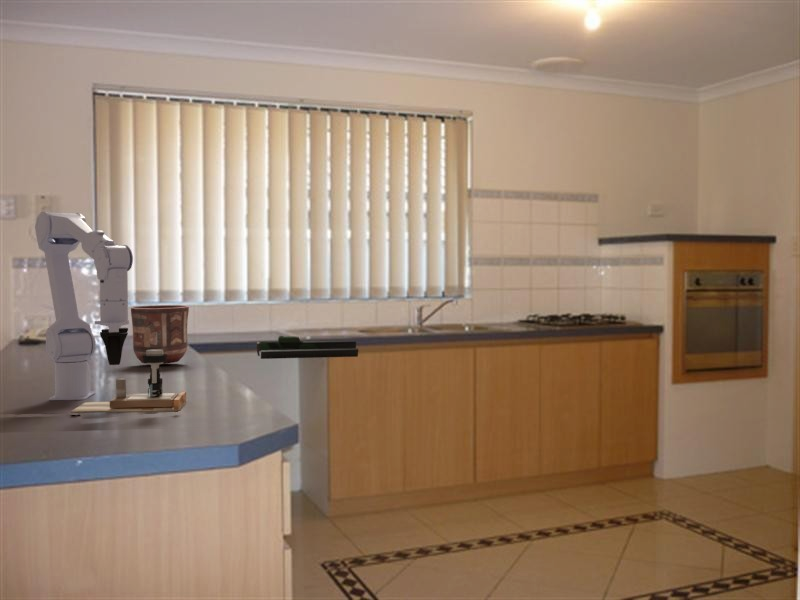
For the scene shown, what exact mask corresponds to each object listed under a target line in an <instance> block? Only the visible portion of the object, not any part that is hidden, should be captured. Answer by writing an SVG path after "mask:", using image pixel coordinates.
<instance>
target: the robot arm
mask: <svg viewBox="0 0 800 600" xmlns="http://www.w3.org/2000/svg"><path fill="white" fill-rule="evenodd" d="M34 229H35V234H36V236H35V237H36V242H37V245H38V249H39V250H41V251H42V252H43V253H44V258H45V263H46V270H47V275H48V280H49V281H48V282H49V287H50V295H51V299H52V305H53V310H54V316H55V321H54V322H53V323H52V324H51V325H50V326H49V327H48V328H47V329H46V331H45V352H46V354H47V357H48V358H49V359H50V360H51V361H52V362H54V392H55V393H54V395H53V396H51V397H50V398H49V399H48V400H49V401H79V400H80V401H81V400H83V401H84V400H87V399H88V398H90V397H92V396H93V395H94V394H96V391H92V379H91V378H92V377H91V370H92V369H91V367H90V366H91V365H90V364H89V363H88V360H91V357H92V356H93V355H94V354H95V351H96V348H97V344H96V343H97V342H96V338H95V336H94V334H93V332H92V328H91V325H90V323H88V322H86V321H85V320H83V319H82V318H80V317H79V311H78V306H77V300H76V294H75V293H76V292H75V288H74V283H73V275H72V273H71V271H72V270H71V266H70V261H69V260H70V259H69V254H70V253H71V252H72V251H73V252H74V251H75V250H76V249H77V248H78V246H79V245H80V243H81V249H82V250H83V252H84V253H85V254H86V255H87V256H89V258H91V259H92V260H93V262H94V263H93V264H94V267H95V270H96V277H97V280H99V313H100V314H99V316H100V319H99V320H94V325H100V326H104V327H107V328H105V329H104V328H102V329H101V331H100V332H99V337H101V339H102V342H103V344H104V347H105V348H104V349H105V352H106V357H107V362H108V365H109V366H119V365H120V364H121V361H122V355H123V348H124V344H125V341H126V338H127V336H128V335H129V334H128V331H129V328H128V327H121V326H126V325H129V324H130V320H129V298H128V297H129V292H128V291H129V288H128V284H129V283H128V281H129V278H128V275H129V274H128V272H129V271H130V270H131V269H132V267H133V262H134V257H133V253H132V249H131V248H130V247H129V245H127V244H121V245H118V244H117V243H115V240H113V239H111V238H110V237H108V236H107V235H106V234H105V232H104V230H101V229H100V230H99V229H98V230H92V228H90V227H89V225H88V224H87V219H86V217H85V216H84V215H83V214H82V213H79V212H75V213H70V212H52V211H51V212H49V211H48V212H47V211H44V210H43V211H40V212H39V214H38V215H37V217H36V220H35V225H34Z"/></svg>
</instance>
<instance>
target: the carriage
mask: <svg viewBox="0 0 800 600" xmlns="http://www.w3.org/2000/svg"><path fill="white" fill-rule="evenodd" d="M115 388H116V390H115V392H116V393H115V394H116V396H114V397H113V398H112V399H110V400H109V402H110V408H131V407H173V406H174V399H175V398H176V397H177V396H178V395H179V393H176V392H170V393H169V392H165V393H164V392H163V395H162V394H160V395H159V397H150V393H149V395H148V393H133V394H132V393H130V394H127V379H126V378H116V380H115Z"/></svg>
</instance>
